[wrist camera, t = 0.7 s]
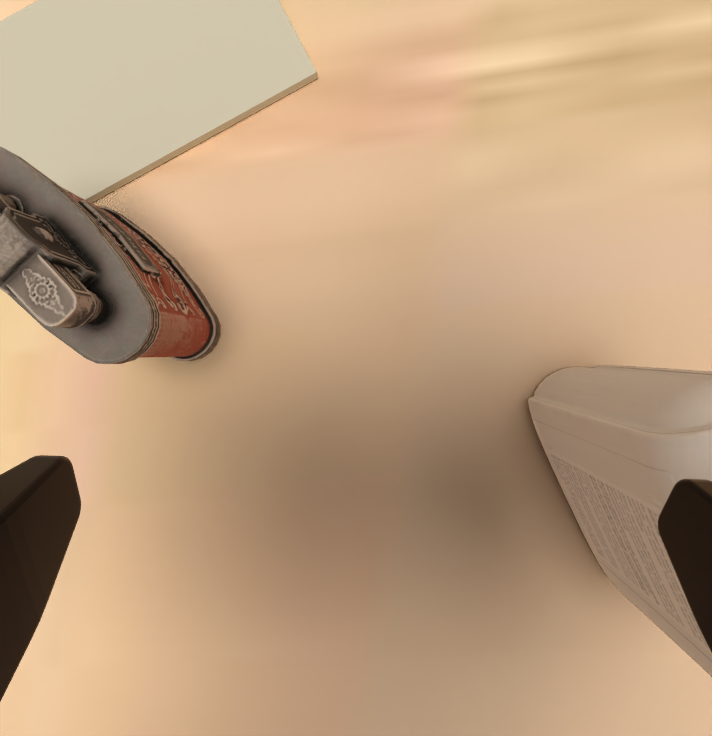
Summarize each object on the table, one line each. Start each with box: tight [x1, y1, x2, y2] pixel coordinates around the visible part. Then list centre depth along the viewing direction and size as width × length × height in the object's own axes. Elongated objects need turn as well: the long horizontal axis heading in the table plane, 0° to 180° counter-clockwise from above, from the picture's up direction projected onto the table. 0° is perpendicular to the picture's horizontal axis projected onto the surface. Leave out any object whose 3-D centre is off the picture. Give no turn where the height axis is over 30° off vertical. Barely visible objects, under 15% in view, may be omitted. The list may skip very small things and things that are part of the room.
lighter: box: [0, 147, 221, 364], centre depth 18 cm, size 8×3×10 cm, turn 43°
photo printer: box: [528, 365, 712, 677], centre depth 17 cm, size 10×4×12 cm, turn 26°
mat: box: [0, 0, 318, 203], centre depth 22 cm, size 14×8×1 cm, turn 118°
